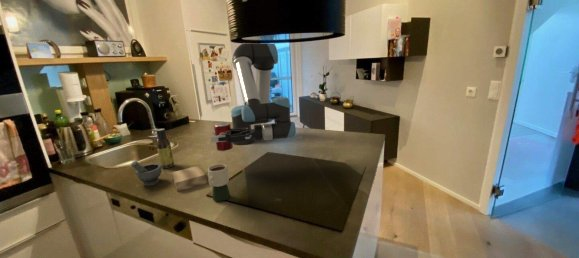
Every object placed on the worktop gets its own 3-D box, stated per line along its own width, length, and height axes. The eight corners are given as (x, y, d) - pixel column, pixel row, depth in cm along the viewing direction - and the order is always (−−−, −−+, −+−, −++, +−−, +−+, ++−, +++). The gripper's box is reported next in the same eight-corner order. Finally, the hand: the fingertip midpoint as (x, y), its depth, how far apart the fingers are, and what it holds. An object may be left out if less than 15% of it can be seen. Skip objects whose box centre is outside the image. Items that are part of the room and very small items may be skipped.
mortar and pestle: (155, 175, 113) (150, 152, 110) (168, 179, 109) (162, 155, 106) (131, 186, 104) (124, 161, 101) (143, 191, 100) (137, 165, 96)
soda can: (214, 149, 111) (210, 124, 107) (227, 145, 116) (224, 121, 113) (222, 153, 106) (219, 127, 103) (236, 148, 111) (233, 123, 108)
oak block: (200, 173, 114) (199, 165, 113) (206, 182, 104) (205, 174, 103) (173, 180, 108) (171, 172, 107) (177, 191, 98) (175, 182, 97)
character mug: (222, 190, 98) (217, 160, 94) (237, 192, 95) (233, 162, 92) (204, 204, 88) (199, 172, 84) (221, 207, 85) (216, 174, 82)
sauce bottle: (175, 166, 122) (168, 129, 117) (161, 170, 119) (153, 132, 114) (173, 162, 128) (166, 127, 122) (160, 166, 124) (152, 129, 119)
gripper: (264, 147, 103) (209, 152, 100) (262, 133, 122) (216, 138, 119) (263, 130, 101) (207, 135, 98) (261, 119, 120) (214, 123, 117)
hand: (212, 136), depth 108 cm, fingers closed on soda can, 7 cm apart
